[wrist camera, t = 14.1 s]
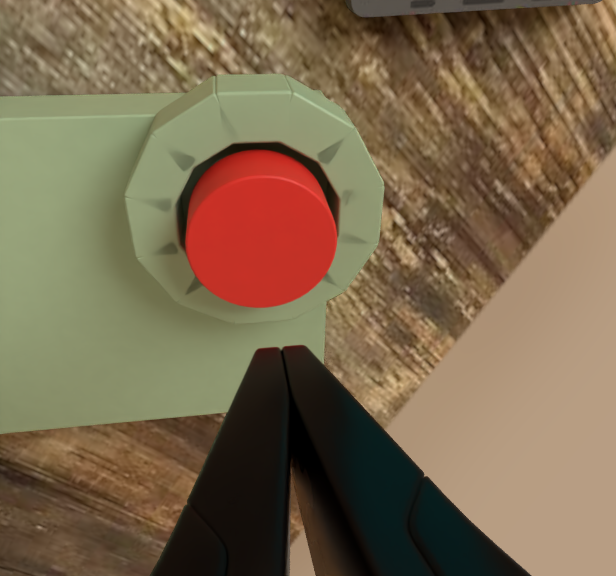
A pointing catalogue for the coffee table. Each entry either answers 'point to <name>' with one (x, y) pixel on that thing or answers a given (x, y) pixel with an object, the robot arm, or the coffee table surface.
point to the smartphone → (446, 6)
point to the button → (259, 229)
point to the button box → (152, 246)
